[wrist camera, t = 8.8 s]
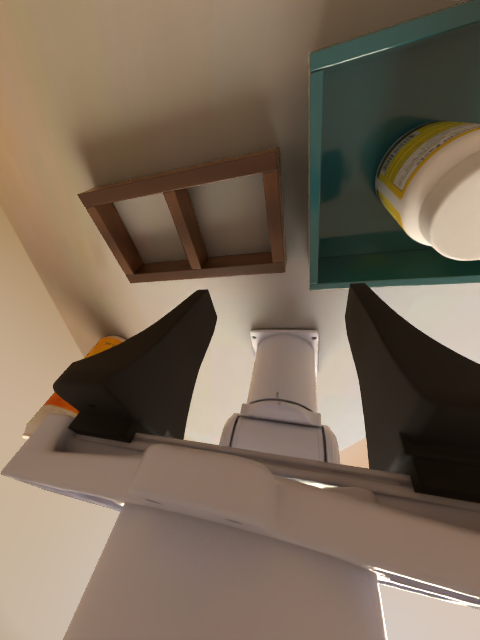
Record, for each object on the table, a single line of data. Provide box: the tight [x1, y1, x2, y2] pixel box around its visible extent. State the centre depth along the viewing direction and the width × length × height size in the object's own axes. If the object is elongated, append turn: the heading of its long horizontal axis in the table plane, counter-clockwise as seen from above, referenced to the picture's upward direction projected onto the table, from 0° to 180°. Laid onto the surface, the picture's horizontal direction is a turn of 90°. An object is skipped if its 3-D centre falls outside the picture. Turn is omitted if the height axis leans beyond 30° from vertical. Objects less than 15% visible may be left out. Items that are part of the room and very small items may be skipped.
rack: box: [78, 147, 287, 283], centre depth 20 cm, size 8×16×2 cm, turn 101°
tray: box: [308, 0, 480, 290], centre depth 13 cm, size 12×13×4 cm
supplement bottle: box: [375, 121, 480, 261], centre depth 11 cm, size 5×5×8 cm
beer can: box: [22, 336, 126, 440], centre depth 31 cm, size 6×6×15 cm
